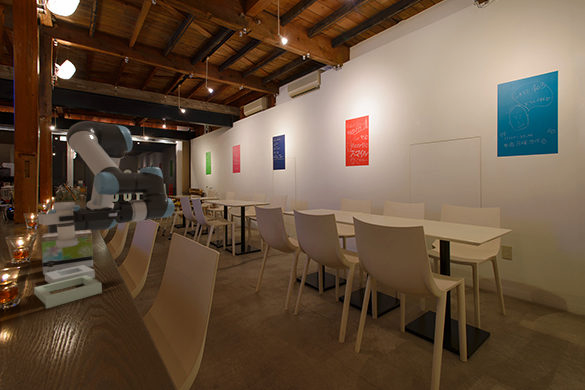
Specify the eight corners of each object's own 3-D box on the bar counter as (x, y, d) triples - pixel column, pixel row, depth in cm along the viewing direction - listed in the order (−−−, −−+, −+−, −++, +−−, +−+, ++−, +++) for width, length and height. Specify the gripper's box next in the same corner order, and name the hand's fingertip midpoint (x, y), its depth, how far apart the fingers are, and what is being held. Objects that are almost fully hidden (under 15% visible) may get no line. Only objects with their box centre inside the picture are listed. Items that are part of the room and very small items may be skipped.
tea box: (42, 277, 100) (40, 237, 99) (44, 271, 107) (42, 233, 107) (94, 268, 109) (91, 231, 108) (92, 263, 117) (90, 228, 116)
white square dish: (45, 283, 94) (44, 273, 94) (84, 274, 103) (83, 264, 102) (54, 290, 87) (53, 279, 87) (95, 279, 96) (94, 270, 96)
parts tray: (34, 297, 82) (34, 287, 82) (87, 283, 92) (86, 275, 92) (46, 308, 74) (45, 297, 74) (101, 292, 85) (101, 282, 84)
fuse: (54, 246, 83) (51, 203, 82) (74, 243, 87) (71, 201, 86) (59, 248, 80) (55, 203, 79) (80, 244, 84) (77, 202, 83)
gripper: (141, 223, 92) (50, 235, 73) (119, 220, 102) (34, 230, 84) (140, 201, 92) (48, 207, 73) (118, 200, 102) (32, 205, 83)
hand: (41, 219), depth 78 cm, fingers closed on fuse, 4 cm apart
